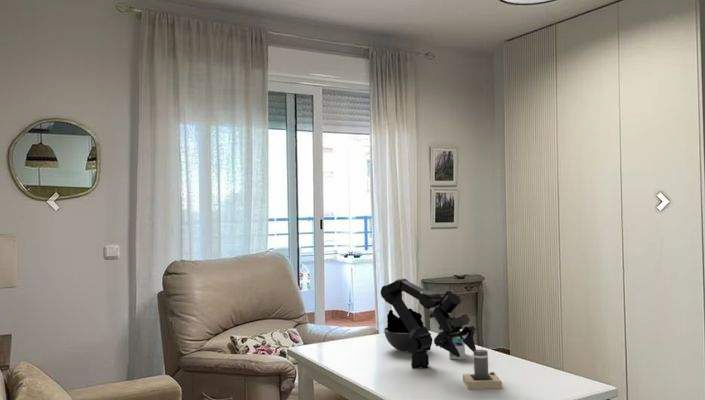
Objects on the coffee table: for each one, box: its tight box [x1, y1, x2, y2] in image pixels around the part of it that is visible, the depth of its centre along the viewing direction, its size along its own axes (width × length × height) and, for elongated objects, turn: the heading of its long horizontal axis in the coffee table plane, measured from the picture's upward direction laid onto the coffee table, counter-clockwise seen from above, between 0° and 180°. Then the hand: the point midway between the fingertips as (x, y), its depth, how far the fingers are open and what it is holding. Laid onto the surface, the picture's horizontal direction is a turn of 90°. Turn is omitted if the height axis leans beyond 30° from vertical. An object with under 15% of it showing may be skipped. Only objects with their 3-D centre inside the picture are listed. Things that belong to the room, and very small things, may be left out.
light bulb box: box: [448, 329, 466, 360], centre depth 243 cm, size 11×7×11 cm, turn 168°
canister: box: [472, 349, 489, 381], centre depth 203 cm, size 5×5×12 cm
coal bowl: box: [383, 308, 429, 352], centre depth 255 cm, size 20×20×19 cm
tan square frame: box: [462, 371, 503, 390], centre depth 203 cm, size 12×10×3 cm
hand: (467, 354), depth 208 cm, fingers open, 9 cm apart
